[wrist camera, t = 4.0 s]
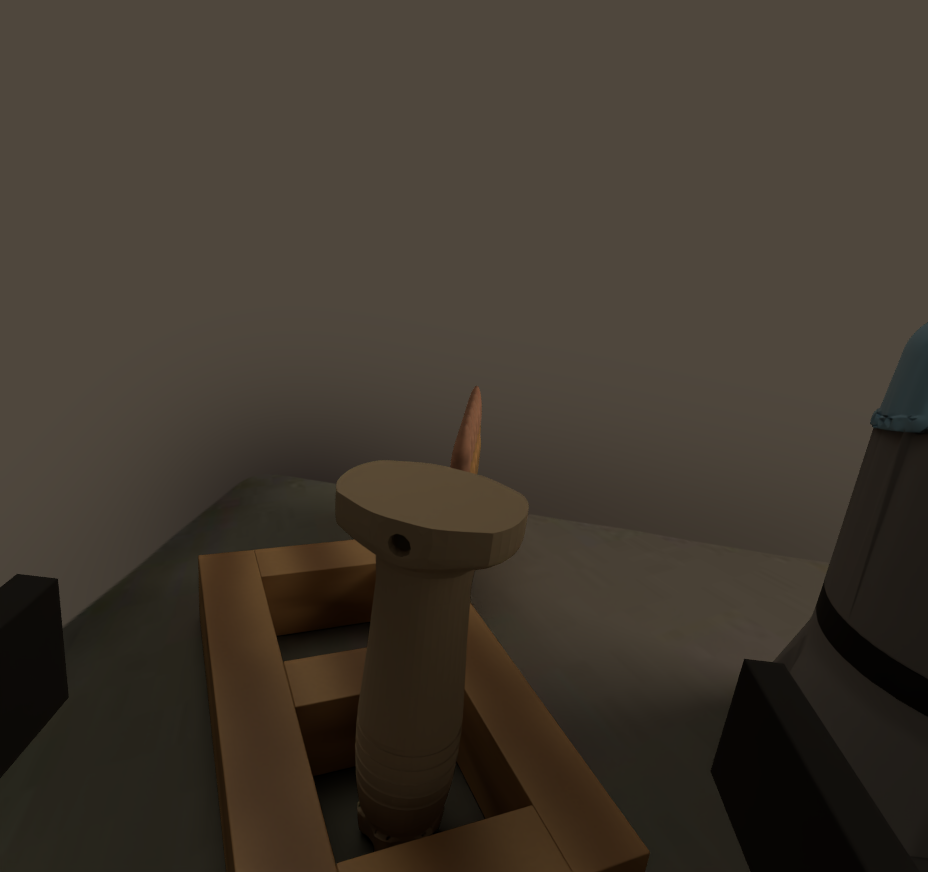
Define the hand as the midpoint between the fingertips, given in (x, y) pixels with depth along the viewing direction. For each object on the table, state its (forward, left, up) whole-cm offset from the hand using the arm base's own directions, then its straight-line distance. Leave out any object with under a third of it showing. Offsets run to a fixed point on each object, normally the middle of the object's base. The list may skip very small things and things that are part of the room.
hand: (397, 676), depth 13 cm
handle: (-4, -9, -16) cm, 18 cm away
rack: (-4, -14, -15) cm, 21 cm away
